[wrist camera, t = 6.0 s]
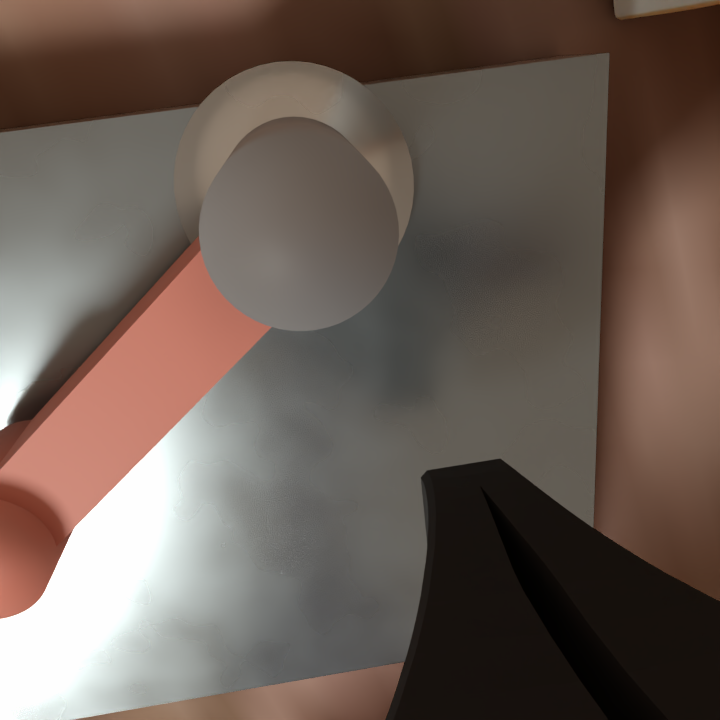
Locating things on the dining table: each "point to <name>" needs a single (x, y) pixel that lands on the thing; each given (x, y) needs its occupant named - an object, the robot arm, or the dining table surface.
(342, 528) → the console
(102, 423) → the red lever
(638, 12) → the small box
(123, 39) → the dining table surface
